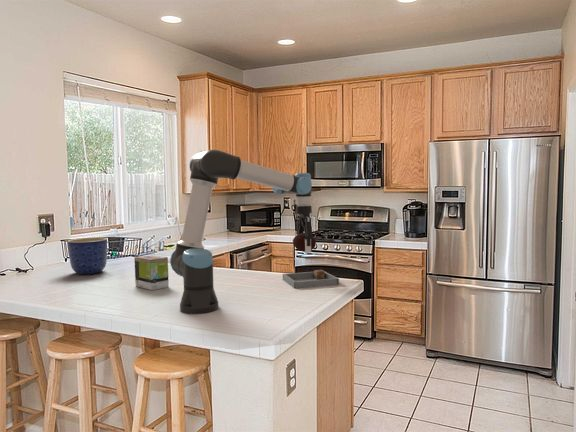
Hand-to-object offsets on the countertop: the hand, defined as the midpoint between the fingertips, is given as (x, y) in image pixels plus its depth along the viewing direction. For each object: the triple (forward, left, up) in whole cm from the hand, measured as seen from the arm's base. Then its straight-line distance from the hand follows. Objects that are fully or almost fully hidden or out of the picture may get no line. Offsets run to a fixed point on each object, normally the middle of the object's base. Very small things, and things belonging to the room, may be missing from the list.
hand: (304, 251), depth 227 cm
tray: (+3, 0, -16) cm, 16 cm away
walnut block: (+10, +6, -15) cm, 19 cm away
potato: (0, 0, 0) cm, 0 cm away
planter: (-105, +70, -16) cm, 128 cm away
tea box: (-71, +21, -16) cm, 76 cm away
